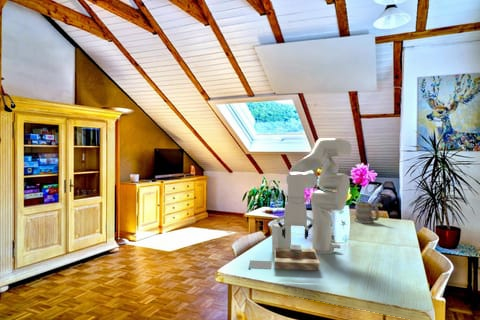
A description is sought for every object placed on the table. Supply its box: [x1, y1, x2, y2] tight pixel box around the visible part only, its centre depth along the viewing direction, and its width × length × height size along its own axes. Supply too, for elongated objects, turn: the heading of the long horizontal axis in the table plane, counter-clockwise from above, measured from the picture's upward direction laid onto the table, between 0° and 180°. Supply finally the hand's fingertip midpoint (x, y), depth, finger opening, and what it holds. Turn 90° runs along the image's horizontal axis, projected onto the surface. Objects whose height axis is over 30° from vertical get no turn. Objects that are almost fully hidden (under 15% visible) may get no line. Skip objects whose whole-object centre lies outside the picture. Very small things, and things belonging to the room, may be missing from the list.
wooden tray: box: [273, 248, 321, 271], centre depth 151 cm, size 19×20×5 cm
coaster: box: [248, 259, 272, 270], centre depth 150 cm, size 10×10×1 cm
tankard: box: [353, 201, 384, 224], centre depth 242 cm, size 20×13×15 cm, turn 43°
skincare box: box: [271, 222, 292, 253], centre depth 169 cm, size 8×6×15 cm
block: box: [290, 244, 303, 259], centre depth 151 cm, size 5×7×8 cm
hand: (294, 238), depth 150 cm, fingers open, 9 cm apart
